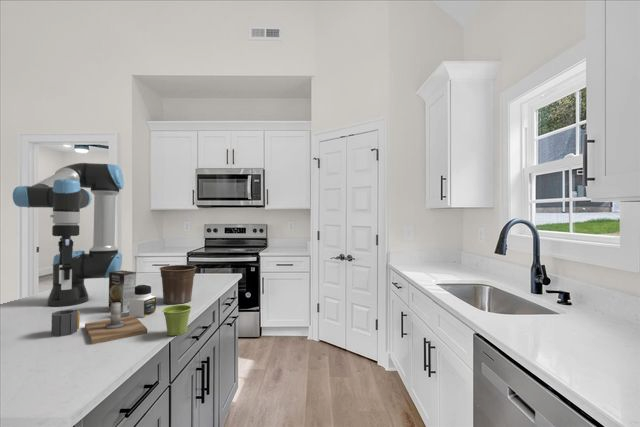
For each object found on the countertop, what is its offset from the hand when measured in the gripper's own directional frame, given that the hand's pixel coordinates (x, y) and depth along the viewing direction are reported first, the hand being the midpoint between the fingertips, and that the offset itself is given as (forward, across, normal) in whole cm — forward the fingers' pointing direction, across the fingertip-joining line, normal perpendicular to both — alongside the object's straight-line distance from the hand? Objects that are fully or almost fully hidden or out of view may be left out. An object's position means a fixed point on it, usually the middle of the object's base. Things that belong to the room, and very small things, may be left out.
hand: (64, 286), depth 117 cm
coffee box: (+16, -21, +21) cm, 34 cm away
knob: (+16, 0, 0) cm, 16 cm away
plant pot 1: (+16, -20, +44) cm, 51 cm away
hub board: (+16, +8, +14) cm, 23 cm away
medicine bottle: (+16, -7, +26) cm, 32 cm away
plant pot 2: (+16, +24, +30) cm, 42 cm away
